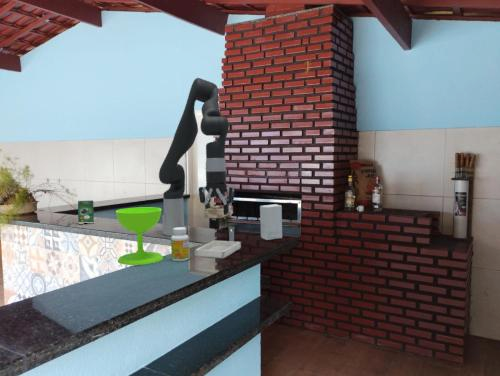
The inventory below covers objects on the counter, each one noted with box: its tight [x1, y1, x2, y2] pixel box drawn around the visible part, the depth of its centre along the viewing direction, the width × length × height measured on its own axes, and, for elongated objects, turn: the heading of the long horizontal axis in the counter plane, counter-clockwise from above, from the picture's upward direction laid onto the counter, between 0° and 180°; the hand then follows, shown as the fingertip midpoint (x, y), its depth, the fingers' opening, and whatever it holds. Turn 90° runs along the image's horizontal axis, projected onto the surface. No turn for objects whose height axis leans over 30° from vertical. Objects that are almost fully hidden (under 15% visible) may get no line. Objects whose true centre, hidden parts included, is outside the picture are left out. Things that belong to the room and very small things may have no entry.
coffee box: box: [77, 200, 95, 223], centre depth 234 cm, size 8×3×13 cm, turn 119°
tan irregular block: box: [203, 205, 234, 219], centre depth 161 cm, size 13×8×3 cm, turn 162°
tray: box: [194, 239, 242, 259], centre depth 162 cm, size 12×18×2 cm, turn 161°
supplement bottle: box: [170, 226, 190, 262], centre depth 151 cm, size 6×6×11 cm
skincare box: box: [259, 203, 283, 241], centre depth 186 cm, size 8×6×15 cm
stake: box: [228, 226, 236, 242], centre depth 177 cm, size 2×2×7 cm
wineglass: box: [115, 206, 164, 266], centre depth 152 cm, size 16×16×18 cm
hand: (216, 214), depth 159 cm, fingers closed on tan irregular block, 6 cm apart
